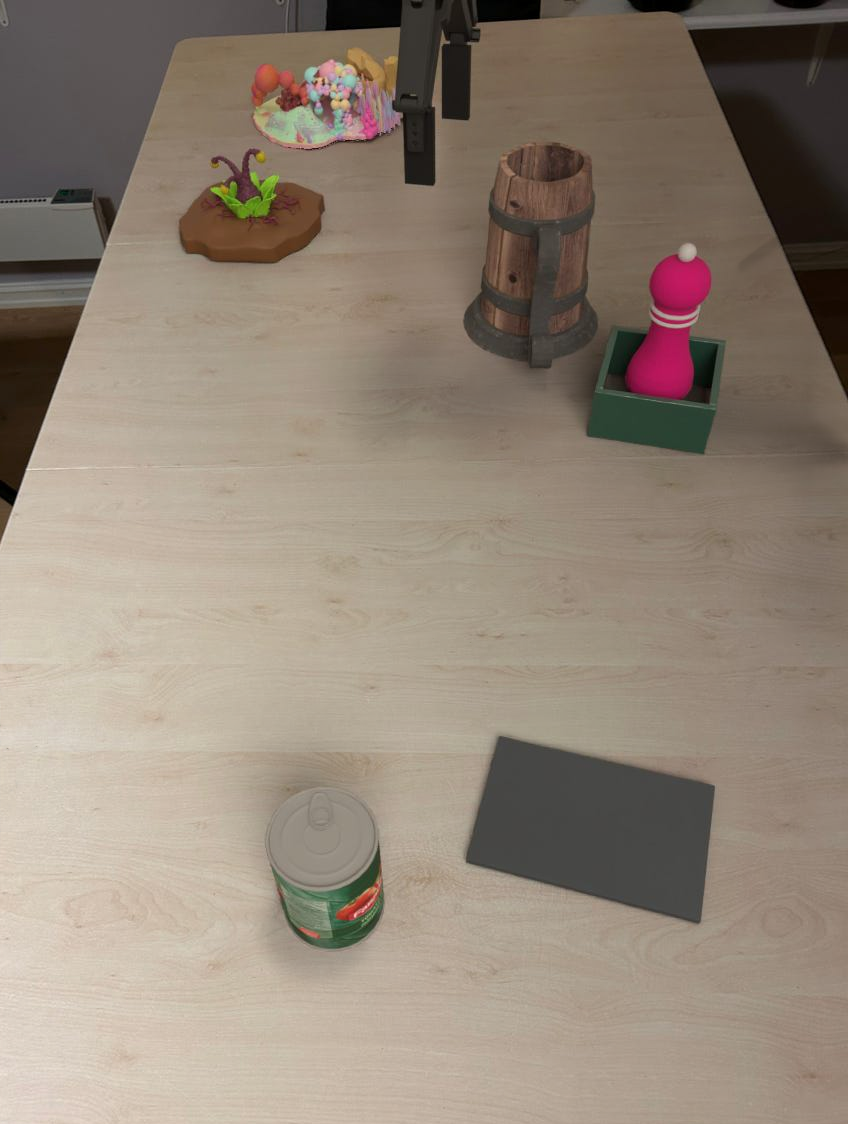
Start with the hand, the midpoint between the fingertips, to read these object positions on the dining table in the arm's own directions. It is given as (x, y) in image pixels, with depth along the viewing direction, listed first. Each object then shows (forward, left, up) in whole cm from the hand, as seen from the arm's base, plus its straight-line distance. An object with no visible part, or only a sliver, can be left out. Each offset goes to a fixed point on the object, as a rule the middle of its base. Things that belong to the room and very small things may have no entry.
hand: (438, 149), depth 92 cm
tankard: (-9, -13, -28) cm, 32 cm away
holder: (-25, -2, -28) cm, 37 cm away
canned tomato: (-9, +64, -28) cm, 70 cm away
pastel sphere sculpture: (+35, -66, -28) cm, 80 cm away
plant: (+35, -30, -28) cm, 55 cm away
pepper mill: (-25, -2, -28) cm, 38 cm away
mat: (-27, +52, -28) cm, 64 cm away
